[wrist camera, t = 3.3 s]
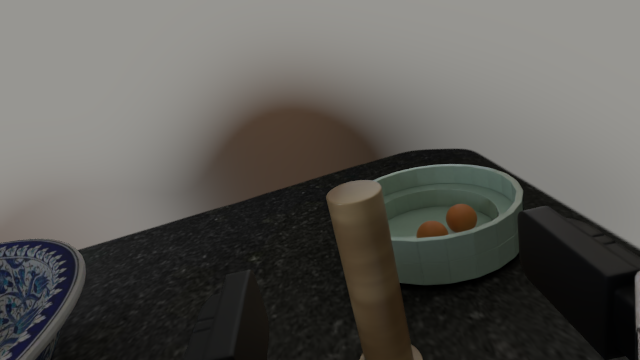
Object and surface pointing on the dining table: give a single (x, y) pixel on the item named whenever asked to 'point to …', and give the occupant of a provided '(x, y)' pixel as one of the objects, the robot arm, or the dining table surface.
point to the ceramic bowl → (36, 295)
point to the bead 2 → (461, 218)
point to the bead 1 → (431, 229)
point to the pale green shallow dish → (432, 205)
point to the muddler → (370, 270)
